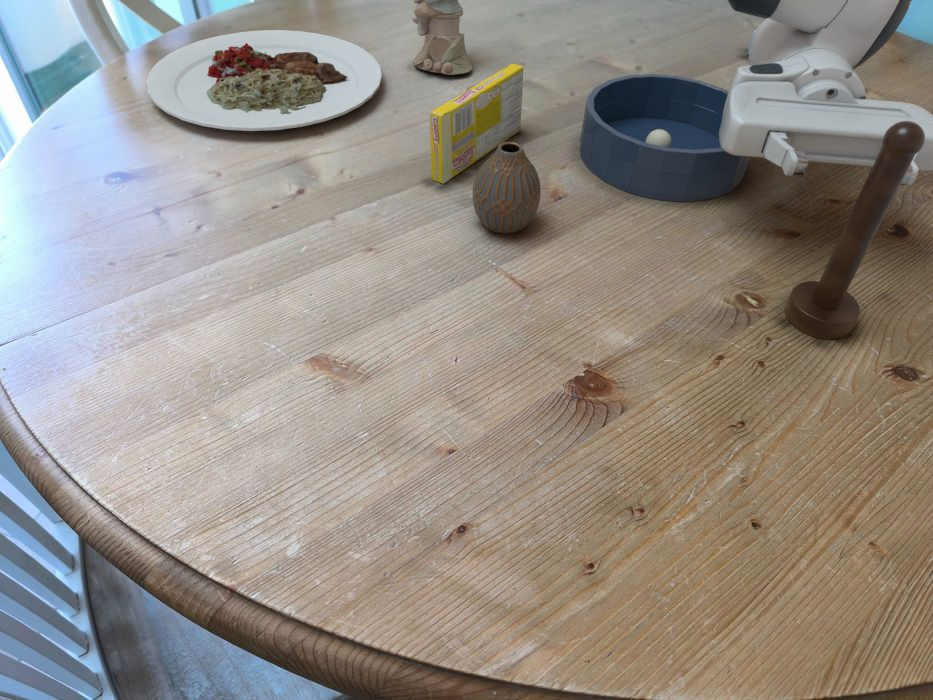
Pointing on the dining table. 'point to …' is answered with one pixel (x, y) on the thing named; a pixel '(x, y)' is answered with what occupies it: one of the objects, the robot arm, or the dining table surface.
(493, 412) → the dining table surface
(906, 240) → the dining table surface
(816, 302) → the wooden joystick
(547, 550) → the dining table surface
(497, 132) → the candy box
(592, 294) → the dining table surface
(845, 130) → the robot arm
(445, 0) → the figurine
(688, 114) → the bowl
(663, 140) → the dough ball
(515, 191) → the vase
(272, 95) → the plated food
